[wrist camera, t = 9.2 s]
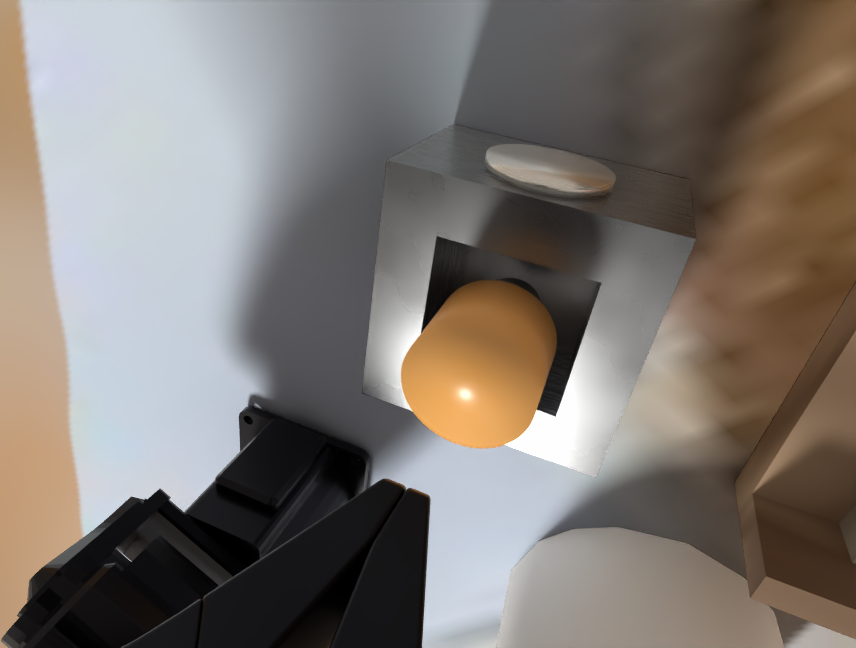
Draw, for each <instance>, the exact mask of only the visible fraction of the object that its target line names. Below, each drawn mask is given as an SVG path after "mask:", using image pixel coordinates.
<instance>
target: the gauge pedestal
mask: <svg viewBox="0 0 856 648" xmlns="http://www.w3.org/2000/svg"><path fill="white" fill-rule="evenodd" d="M695 241H696V233H695V224H694V215H693V206H692V197H691V188H690V180H689V179H685V178H681V177H676V176H672V175H668V174H663V173H659V172H655V171H651V170H646V169H642V168H638V167H634V166H629V165H625V164H621V163H616V162H612V161H608V160H604V159H599V158H595V157H591V156H586V155H582V154H578V153H574V152H569V151H565V150H561V149H557V148H552V147H548V146H544V145H539V144H535V143H531V142H527V141H522V140H518V139H514V138H509V137H505V136H501V135H497V134H492V133H488V132H484V131H480V130H475V129H471V128H467V127H462V126H458V125H454V124H453V125H451V126H449V127H447V128H445V129H443V130H442V131H440V132H438V133H436V134H434V135H432V136H430V137H429V138H427V139H425V140H423V141H421V142H419V143H417V144H415V145H414V146H412V147H410V148H408V149H406V150H404V151H402V152H401V153H399V154H397V155H395V156H393V157H391V158H389V159H387V160H386V170H385V179H384V189H383V198H382V208H381V217H380V227H379V236H378V246H377V255H376V265H375V274H374V284H373V293H372V303H371V312H370V322H369V331H368V340H367V350H366V359H365V369H364V378H363V388H362V393H363V394H366V395H369V396H371V397H374V398H377V399H380V400H383V401H385V402H388V403H391V404H394V405H396V406H399V407H402V408H405V409H407V410H410V411H412V410H411V408H410V406H409V405H408V403H407V401H406V399H405V396H404V393H403V390H402V385H401V367H402V363H403V360H404V358H405V355H406V353H407V352H408V350H409V349H410V347H411V346H412V345H413V343H414V342H415V341H416V339H417V338H418V337H419V336H420V334H421V333H422V332H423V330H424V329H425V328H426V326H427V325H428V324H429V322H430V321H431V320H432V319H433V317H434V316H435V315H436V313H437V312H438V311H439V309H440V308H441V307H442V306H443V304H444V303H445V302H446V300H447V299H448V298H449V297H450V296H451V294H453V293H454V292H455V291H456V290H457V289H459V288H461V287H462V286H464V285H466V284H469V283H472V282H475V281H480V280H500V279H503V278H517V279H520V280H523V281H525V282H527V283H528V284H530V285H531V286H532V287H533V288H534V289H535V290H536V292H537V293H538V295H539V297H540V300H541V303H542V304H543V305H544V307H545V308H546V309H547V311H548V312H549V314H550V316H551V318H552V320H553V322H554V325H555V329H556V333H557V348H556V353H555V356H554V359H553V362H552V365H551V368H550V371H549V374H548V377H547V380H546V383H545V386H544V389H543V392H542V395H541V398H540V401H539V404H538V407H537V410H536V413H535V416H534V418H533V421H532V423H531V424H530V426H529V428H528V429H527V430H526V431H525V432H524V433H523V434H522V435H521V436H520V437H519V438H517V439H516V440H514V441H512V442H510V443H508V444H505V445H507V446H510V447H513V448H515V449H518V450H521V451H524V452H526V453H529V454H532V455H535V456H537V457H540V458H543V459H546V460H549V461H551V462H554V463H557V464H560V465H562V466H565V467H568V468H571V469H573V470H576V471H579V472H582V473H585V474H587V475H590V476H593V477H596V476H597V474H598V471H599V469H600V467H601V464H602V462H603V460H604V457H605V455H606V452H607V450H608V448H609V445H610V443H611V441H612V438H613V436H614V433H615V431H616V429H617V426H618V424H619V422H620V419H621V417H622V414H623V412H624V410H625V407H626V405H627V403H628V400H629V398H630V395H631V393H632V391H633V388H634V386H635V384H636V381H637V379H638V376H639V374H640V372H641V369H642V367H643V365H644V362H645V360H646V357H647V355H648V353H649V350H650V348H651V346H652V343H653V341H654V338H655V336H656V334H657V331H658V329H659V327H660V324H661V322H662V319H663V317H664V315H665V312H666V310H667V308H668V305H669V303H670V300H671V298H672V296H673V293H674V291H675V289H676V286H677V284H678V281H679V279H680V277H681V274H682V272H683V270H684V267H685V265H686V262H687V260H688V258H689V255H690V253H691V251H692V248H693V246H694V243H695Z"/></svg>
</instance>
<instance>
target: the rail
mask: <svg viewBox="0 0 856 648" xmlns="http://www.w3.org/2000/svg"><path fill="white" fill-rule="evenodd" d="M734 484H735V492H736V499H737V507H738V514H739V521H740V529H741V536H742V544H743V551H744V559H745V566H746V573H747V581H748V588H749V596H750V599H753V600H755V601H758V602H760V603H763V604H766V605H768V606H771V607H773V608H776V609H779V610H781V611H784V612H786V613H789V614H792V615H794V616H797V617H799V618H802V619H805V620H807V621H810V622H812V623H815V624H817V625H820V626H823V627H825V628H828V629H831V630H833V631H836V632H838V633H841V634H843V635H846V636H849V637H851V638H854V639H856V283H855V284H854V286H853V288H852V289H851V291H850V293H849V294H848V296H847V298H846V299H845V301H844V303H843V304H842V306H841V308H840V309H839V311H838V313H837V314H836V316H835V318H834V319H833V321H832V322H831V324H830V326H829V327H828V329H827V331H826V332H825V334H824V336H823V337H822V339H821V341H820V342H819V344H818V346H817V347H816V349H815V351H814V352H813V354H812V356H811V357H810V359H809V360H808V362H807V364H806V365H805V367H804V369H803V370H802V372H801V374H800V375H799V377H798V379H797V380H796V382H795V384H794V385H793V387H792V389H791V390H790V392H789V393H788V395H787V397H786V398H785V400H784V402H783V403H782V405H781V407H780V408H779V410H778V412H777V413H776V415H775V417H774V418H773V420H772V422H771V423H770V425H769V427H768V428H767V430H766V431H765V433H764V435H763V436H762V438H761V440H760V441H759V443H758V445H757V446H756V448H755V450H754V451H753V453H752V455H751V456H750V458H749V460H748V461H747V463H746V465H745V466H744V468H743V469H742V471H741V473H740V474H739V476H738V478H737V479H736V481H735V483H734Z"/></svg>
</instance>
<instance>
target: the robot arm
mask: <svg viewBox="0 0 856 648" xmlns="http://www.w3.org/2000/svg"><path fill="white" fill-rule="evenodd" d="M239 429H240V453H239V454H238V455H237V456H236V457H235V458H234V459H233V460H232V461H231V462H230V463H229V464H228V465H227V466H226V467H225V468H224V469H223V470H222V471H221V472H220V473H219V474H218V475H217V477H216V478H215V481H214V482H213V483H212V484H211V485H210V486H209V487H208V488H207V489H206V490H205V491H204V492H203V493H202V494H201V495H200V496H199V497H198V498H197V499H196V500H195V502H194V503H193V504H192V505H191V506H190V507H189V508H188V509H187V510H186V511H185V512H183V511H182V510H181V509H179V508H178V507H177V506H176V505H175V504H174V503H173V502H171V501H170V500H169V499H170V498H171V497H170V496H168V495H167V494H166V493H165V492H164V491H163V490H161V489H159V490H158V491H157V492H155V493H154V494H153V495H152V496H151V497H150V498H149V499H145V500H143V499H139V498H135V497H130V498H129V499H128V500H127V501H126V502H125V503H124V504H123V505H122V506H120V507H119V508H118V509H117V510H116V511H115V512H114V513H113V514H112V515H111V516H109V517H108V518H107V519H106V520H105V521H104V522H103V523H101V524H100V525H99V526H98V527H97V528H95V529H94V530H93V531H92V532H90V533H89V534H88V535H86V536H85V537H83V538H82V539H81V540H79V541H78V542H77V543H75V544H74V545H73V546H71V547H70V548H68V549H67V550H66V551H64V552H63V553H62V554H60V555H59V556H58V557H56V558H55V559H53V560H52V561H51V562H49V563H48V564H46V565H45V566H44V567H43V568H41V569H40V570H39V571H38V572H37V573H36V574H35V575H34V576H33V577H32V578H31V579H30V581H29V589H28V598H27V604H26V605H25V606H24V607H23V608H22V609H21V611H20V612H19V613H18V615H17V616H18V617H19V619H18V620H17V621H16V622H15V623H14V625H12V627H11V628H10V629H9V630H8V631H7V633H6V634H5V635H4V636H3V638H2V639H1V642H2V643H4V644H5V645H6V646H7V647H9V648H422V637H423V620H424V603H425V586H426V568H427V551H428V534H429V517H430V496H429V495H427V494H425V493H422V492H420V491H417V490H415V489H412V488H408V489H407V490H406V487H405V486H404V485H402V484H400V483H397V482H394V481H392V480H389V479H382V480H380V481H378V482H377V483H375V484H374V485H372V486H371V487H369V488H368V489H367V481H368V473H369V465H370V457H369V455H368V453H367V452H366V451H365V450H363V449H361V448H359V447H356V446H354V445H351V444H349V443H346V442H343V441H341V440H338V439H336V438H333V437H330V436H328V435H325V434H323V433H320V432H317V431H315V430H312V429H310V428H307V427H304V426H302V425H299V424H297V423H294V422H291V421H289V420H286V419H284V418H281V417H279V416H276V415H273V414H271V413H268V412H266V411H263V410H260V409H258V408H255V407H252V406H248V407H246V408H245V409H244V410H243V411H242V412H241V413H240V414H239ZM356 458H357V459H356ZM358 459H359V460H360V461H359V460H358ZM123 554H124V555H125V556H126V557H127V558H129V559H130V560H131V561H132V562H131V561H129V560H128V559H127V558H126V557H125V556H123Z"/></svg>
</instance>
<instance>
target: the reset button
mask: <svg viewBox="0 0 856 648" xmlns="http://www.w3.org/2000/svg"><path fill="white" fill-rule="evenodd" d="M556 348H557V333H556V329H555V325H554V322H553V320H552V318H551V316H550V314H549V312H548V311H547V309H546V308H545V307H544V305H543V304H542V303H541V300H540V297H539V295H538V293H537V292H536V290H535V289H534V288H533V287H532V286H531V285H530V284H528V283H527V282H525V281H523V280H520V279H517V278H503V279H500V280H480V281H475V282H472V283H469V284H466V285H464V286H462V287H461V288H459V289H457V290H456V291H455V292H454V293H453V294H451V296H450V297H449V298H448V299H447V300H446V302H445V303H444V304H443V306H442V307H441V308H440V309H439V311H438V312H437V313H436V315H435V316H434V317H433V319H432V320H431V321H430V322H429V324H428V325H427V326H426V328H425V329H424V330H423V332H422V333H421V334H420V336H419V337H418V338H417V339H416V341H415V342H414V343H413V345H412V346H411V347H410V349H409V350H408V352H407V353H406V355H405V358H404V360H403V363H402V367H401V385H402V390H403V393H404V396H405V399H406V401H407V403H408V405H409V406H410V408H411V410H412V411H413V413H414V414H415V415H416V416H417V418H418V419H419V420H420V421H421V422H422V423H423V424H424V425H425V426H426V427H428V428H429V429H430V430H431V431H433V432H434V433H436V434H437V435H439V436H440V437H442V438H444V439H446V440H448V441H450V442H453V443H455V444H459V445H462V446H466V447H471V448H494V447H499V446H503V445H505V444H508V443H510V442H512V441H514V440H516V439H517V438H519V437H520V436H521V435H522V434H523V433H524V432H525V431H526V430H527V429H528V428H529V426H530V424H531V423H532V421H533V418H534V416H535V413H536V410H537V407H538V404H539V401H540V398H541V395H542V392H543V389H544V386H545V383H546V380H547V377H548V374H549V371H550V368H551V365H552V362H553V359H554V356H555V353H556Z"/></svg>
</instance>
